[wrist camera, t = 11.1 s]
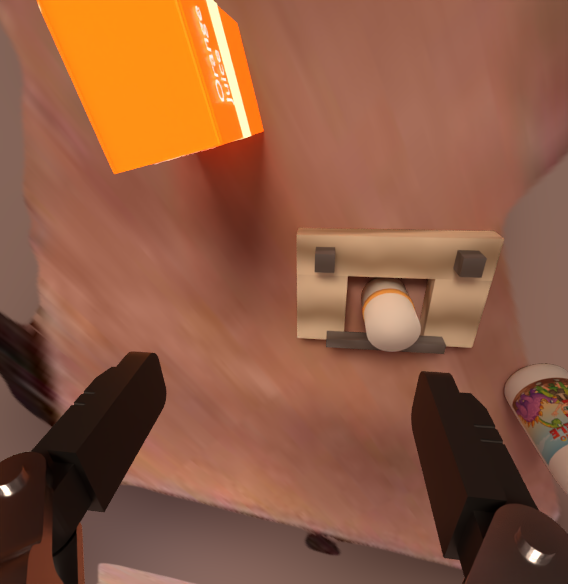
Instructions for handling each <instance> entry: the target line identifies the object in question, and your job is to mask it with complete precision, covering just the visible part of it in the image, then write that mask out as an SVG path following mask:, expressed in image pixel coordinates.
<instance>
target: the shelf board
mask: <svg viewBox="0 0 568 584" xmlns="http://www.w3.org/2000/svg"><path fill="white" fill-rule="evenodd" d="M503 242H504V238H503V237H501V236H500V235H499V234H497V233H496V232H495V231H464V230H403V229H342V228H298V232H297V338H308V339H326V347H334V348H351V349H368V350H380V349H378V348H376V347H375V346H373V345H372V344H371V343H370V341H369V340H368V338H367V334H366V333H363V332H344V323H345V309H346V295H347V281H348V276H359V277H389V278H419V279H428V281H427V286H426V291H425V297H424V302H423V307H422V312H421V317H420V326H421V332H420V335H419V338H418V339H417V341H416V342H415V343H414V344H413V345H411V346H410V347H408V348H406V349H404V350H401V351H402V352H419V353H436V354H444V352H445V348H446V346H450V347H468V348H472V346H473V343H474V339H475V336H476V333H477V329H478V326H479V323H480V319H481V316H482V312H483V309H484V306H485V302H486V299H487V296H488V292H489V289H490V286H491V282H492V279H493V275H494V272H495V269H496V265H497V262H498V259H499V255H500V252H501V248H502V245H503Z"/></svg>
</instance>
